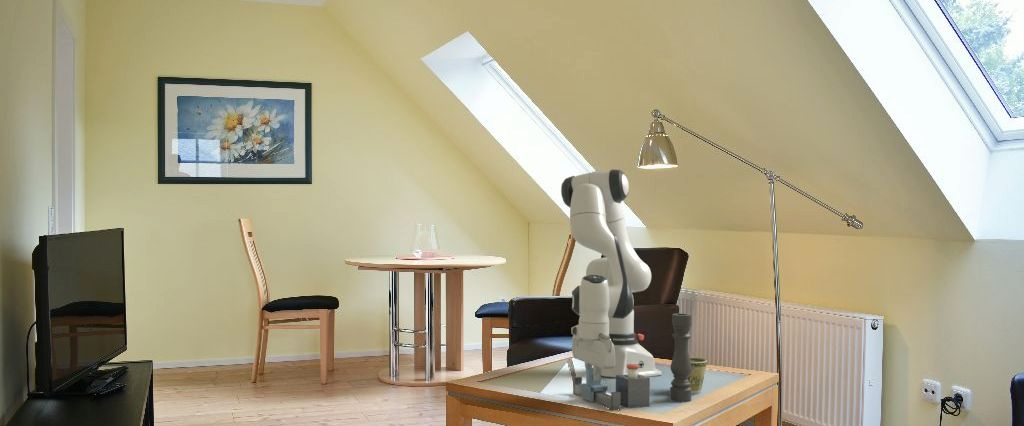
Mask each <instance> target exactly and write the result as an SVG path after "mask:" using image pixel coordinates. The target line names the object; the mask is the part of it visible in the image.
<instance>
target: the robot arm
mask: <svg viewBox="0 0 1024 426" xmlns="http://www.w3.org/2000/svg"><path fill="white" fill-rule="evenodd" d="M629 187H630V184H629V180H628V178H627V176H626V174H625V172H623V170H621V169H610V170H597V171H591V172H588V173H587V172H586V173H583V174H579V175H576V176H575V175H572V176H568V177H567V178H564V180H563V181H562V182H561V186H560V188H561V189H560V194H561V198H562V201H563V203H564V204H565V205H566V206H567V207H568V208H569V225H570V226H569V227H570V231H571V236H572V237H573V240H575V241H576V242H577V243H578V244H580V245H581V246H582V247H584V248H587V249H589V250H592V251H595V252H597V253H599V254H601V255H603V257H601V258H596V259H593V260H591V261H590V262H589V263H588V265H587V267H586V270H585V276H583V277H581V281H580V285H577V286H575V288H574V289H573V290H572V291H571V295H572V296H571V297H572V301H571V310H572V311H573V313H575V314H576V315H578V316H579V319H578V324H577V325H574V326H572V327H571V331H570V332H571V335H572V338H571V348H572V349H571V353H572V356H573V358H574V359H575V360H577V361H582V362H584V367H585V368H584V369H586V368H591V367H593V369H594V372H593V374H592V380H594V381H598V380H599V374H600V372H601V377H607V378H616V375H625V374H628V368H627V364H637V365H639V368H638V374H639V375H642V376H645V377H648V378H650V377H654V376H655V377H656V376H662V375H663V373H662V371H661V369H658V368H656V363H655V362H656V361H655V358H654V356H653V354H652V353H650V352H649V351H648V350H647V349H645V348H644V347H643V346H642V345H640V343H639V341H638V340H640V341H644V340H645V336H644V335H643V334H641V333H638V334H637V333H636V332H635V329H634V328H635V326H634V325H635V324H634V322H635V321H634V320H635V310H634V301H635V300H634V295H633V293H638V292H639V293H640V292H643V291H646V290H647V289H648V288H649V286H650V284H651V281H652V272H651V271H652V270H651V268H650V267H649V266H648V264H647V263H645V262H644V261H643V260H642V259H641V258H640V257H639V255H638V254H637V252H636V251H635V249H634V247H633V244H632V243H631V240H630V238H629V234H628V230H627V226H626V220H625V216H624V215H625V213H624V210H623V207H622V202H623V201H625V199H626V198H627V196H629Z"/></svg>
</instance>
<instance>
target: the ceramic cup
mask: <svg viewBox="0 0 1024 426" xmlns="http://www.w3.org/2000/svg"><path fill="white" fill-rule="evenodd" d="M689 357H690V362H691V367H692V370H691V373H690V374H689V375H688V376H689V377H688V380H689V382H690V384H691V385H690V386H689V387H690V388H691V395H698V394H700V393H702V389H703V384H704V379H705V373H706V369H707V365H708V360H707V359H705V358H703V357H702V358H701V357H695V356H694V357H693V356H689Z"/></svg>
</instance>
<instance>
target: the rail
mask: <svg viewBox="0 0 1024 426" xmlns="http://www.w3.org/2000/svg"><path fill="white" fill-rule="evenodd" d="M572 378H573V379H572V382H573V383H572V394H573V395H576V396H578V397H579V398H581V388H580V384H583V376H573V377H572ZM610 393H611V394H608V393H607V392H606V393H603V392H601V391H595V392H594V401H591V402H592V403H593V402H594V403H593V404H596V403H597V404H596V405H598V404H599V405H598V406H600V405H602V406H601V407H603V406H604V407H603V408H605V407H607V408H609V409H608V410H610V409H612V410H617V411H621V405H620V397H621V392H616V391H611V392H610ZM591 402H590V403H591ZM607 408H606V409H607ZM618 409H619V410H618ZM612 410H611V411H612Z"/></svg>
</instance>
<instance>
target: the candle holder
mask: <svg viewBox="0 0 1024 426" xmlns="http://www.w3.org/2000/svg"><path fill="white" fill-rule="evenodd" d="M671 317H672V318H671V326H672V329H673V331H674V333H673V334H672V338H673V339H674V352H673V355H672V359H671V364H670V370H671V373H672V374H673V375H672V376H673V379H672V381H671V382H670V384H671V386H670V387H669V400H670V401H673V402H676V403H677V402H678V403H687V402H691V401H692V394H691V388H690V387H689V386H690V385H691V384H690V382H689V380H688V377H689V376H688V375H689V374H690V373H691V370H692V367H691V362H690V357H691V356H690V352H689V340H690V339H691V336H692V335H691V334H689V332H690V330H691V329H692V328H691V327H693V326H692V324H693V321H692V319H693V318H692V317H693V315H692V314H689V313H678V312H677V313H672V314H671Z"/></svg>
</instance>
